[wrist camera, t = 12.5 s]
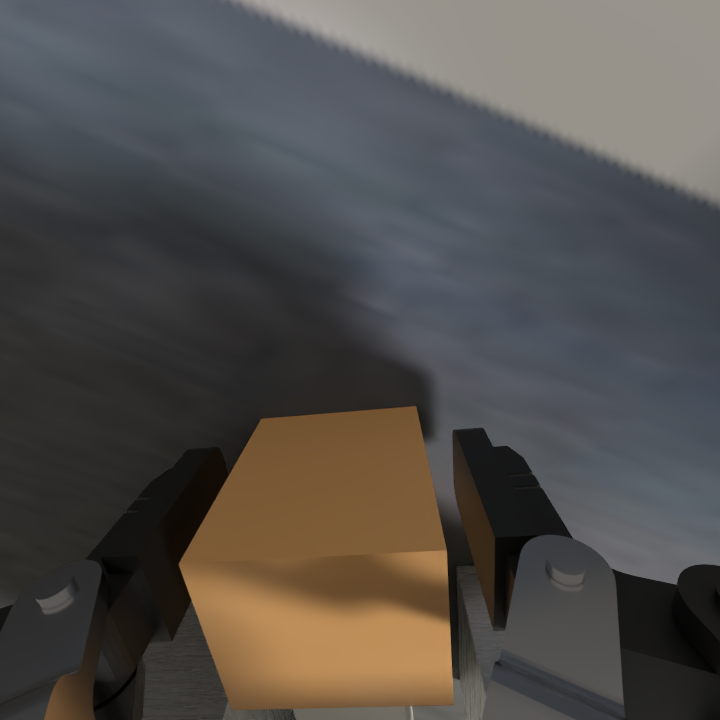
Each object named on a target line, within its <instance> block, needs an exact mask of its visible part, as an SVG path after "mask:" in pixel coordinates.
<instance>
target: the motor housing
mask: <svg viewBox="0 0 720 720" xmlns="http://www.w3.org/2000/svg"><path fill="white" fill-rule="evenodd" d="M456 574H457V607H458V640H459V673H460V686H461V691H462V697H463V702H464V708H465V713H466V719H467V720H482V715H483V710H484V706H485V701H486V696H487V691H488V686H489V682H490V677H491V673H492V670H493V666H494V664H495V662H496V661H499V658H500V654H501V649H502V644H503V639H504V634H505V631H493V628H492V624H491V621H490V617H489V614H488V610H487V607H486V603H485V600H484V596H483V593H482V589H481V586H480V582H479V579H478V575H477V572H476V568H475V565H467V566H456ZM143 660H144V662H145V665H146V676H145V690H144V704H143V718H142V720H290V715H291V709H260V710H232V709H231V706H230V704H229V701H228V698H227V695H226V693H225V690H224V687H223V684H222V682H221V679H220V676H219V674H218V671H217V668H216V665H215V663H214V660H213V657H212V654H211V652H210V649H209V646H208V644H207V641H206V638H205V635H204V633H203V630H202V627H201V624H200V622H199V619H198V616H197V614H196V611H195V608H194V605H193V603H192V601H191V603H190V605H189V607H188V609H187V612H186V614H185V616H184V618H183V620H182V622H181V624H180V626H179V628H178V630H177V632H176V634H175V637H174V639H173V641H170V642H150V643H149V645H148V647H147V649H146V651H145V653H144V655H143Z"/></svg>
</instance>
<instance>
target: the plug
mask: <svg viewBox="0 0 720 720" xmlns="http://www.w3.org/2000/svg"><path fill="white" fill-rule="evenodd" d="M179 567H180V570H181V573H182V575H183V578H184V581H185V584H186V586H187V589H188V592H189V594H190V597H191V600H192V603H193V605H194V608H195V611H196V614H197V616H198V619H199V622H200V624H201V627H202V630H203V633H204V635H205V638H206V641H207V644H208V646H209V649H210V652H211V654H212V657H213V660H214V663H215V665H216V668H217V671H218V674H219V676H220V679H221V682H222V684H223V687H224V690H225V693H226V695H227V698H228V701H229V704H230V706H231V709H232V710H260V709H293V712H294V715H295V719H296V720H413V712H412V706H443V705H454V704H453V681H452V658H451V635H450V612H449V589H448V566H447V549H446V544H445V539H444V535H443V530H442V525H441V521H440V516H439V511H438V506H437V502H436V497H435V492H434V487H433V483H432V478H431V473H430V469H429V464H428V459H427V454H426V450H425V445H424V440H423V436H422V431H421V426H420V421H419V417H418V412H417V407H416V406H412V407H399V408H387V409H375V410H363V411H350V412H338V413H326V414H313V415H301V416H289V417H277V418H264V419H261V420H260V422H259V424H258V425H257V427H256V429H255V431H254V432H253V434H252V436H251V438H250V439H249V441H248V443H247V445H246V446H245V448H244V450H243V452H242V454H241V455H240V457H239V459H238V461H237V462H236V464H235V466H234V468H233V469H232V471H231V473H230V475H229V476H228V478H227V480H226V482H225V483H224V485H223V487H222V489H221V490H220V492H219V494H218V496H217V497H216V499H215V501H214V503H213V504H212V506H211V508H210V510H209V511H208V513H207V515H206V517H205V518H204V520H203V522H202V524H201V525H200V527H199V529H198V531H197V532H196V534H195V536H194V538H193V540H192V541H191V543H190V545H189V547H188V548H187V550H186V552H185V554H184V555H183V557H182V559H181V561H180V562H179Z"/></svg>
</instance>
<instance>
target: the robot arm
mask: <svg viewBox="0 0 720 720" xmlns="http://www.w3.org/2000/svg"><path fill="white" fill-rule="evenodd" d="M453 471H454V488H455V495H456V501H457V505H458V509H459V512H460V516H461V519H462V523H463V526H464V530H465V533H466V537H467V540H468V544H469V547H470V551H471V554H472V558H473V561H474V565H475V568H476V572H477V575H478V579H479V582H480V586H481V589H482V593H483V596H484V600H485V603H486V607H487V610H488V614H489V617H490V621H491V624H492V628H493V631H505V634H504V639H503V644H502V649H501V654H500V658H499V661H496V662H495V664H494V666H493V670H492V673H491V677H490V682H489V686H488V691H487V696H486V701H485V706H484V710H483V715H482V720H720V566H716V565H705V564H703V565H695V566H691V567H688V568H686V569H684V570H683V571H682V572H681V574H680V576H679V578H678V582H677V585H674V584H670V583H665V582H660V581H656V580H651V579H646V578H641V577H637V576H632V575H629V574H625V573H622V572H619V571H616V570H613V569H611V568H610V566H609V564H608V563H607V562H606V561H605V560H604V558H603V557H602V556H601V555H599V554H598V553H597V552H596V551H595V550H593V549H592V548H590V547H589V546H587V545H585V544H584V543H582V542H579V541H577V540H575V539H573V538H572V536H571V534H570V533H569V531H568V530H567V528H566V526H565V525H564V523H563V521H562V520H561V518H560V517H559V515H558V513H557V512H556V510H555V508H554V507H553V505H552V504H551V502H550V500H549V499H548V497H547V495H546V494H545V492H544V491H543V489H542V488H540V484H539V482H538V481H537V479H536V478H535V476H534V475H533V474H532V471H531V469H530V468H529V466H528V465H527V463H526V461H525V460H524V458H523V457H522V456H520V455H519V454H518V453H516V452H515V451H513V450H512V449H511V448H509V447H508V446H500V447H493V446H492V444H491V442H490V440H489V438H488V436H487V434H486V432H485V430H484V429H483V428H473V429H460V430H453ZM227 478H228V472H227V468H226V465H225V461H224V457H223V454H222V452H221V450H220V449H219V448H218V447H211V448H198V449H189V450H187V451H186V452H185V453H184V455H183V456H182V457H181V458H180V459H179V461H178V462H177V463H176V464H175V466H174V467H173V468H172V469H169V470H167V471H166V472H164V473H163V474H162V475H160V476H159V477H158V478H156V479H155V480H153V481H152V482H151V483H150V484H149V485H148V486H147V487H146V489H145V490H144V491H143V492H142V493H141V494H140V496H139V497H138V500H136V501H134V503H133V504H132V505H131V506H130V507H129V509H128V510H127V513H124V514H123V516H122V517H121V518H120V519H119V520H118V522H117V523H116V524H115V525H114V526H113V527H112V529H111V530H110V531H109V532H108V533H107V535H106V536H105V537H104V538H103V539H102V540H101V542H100V543H99V544H98V545H97V546H96V548H95V549H94V550H93V551H92V552H91V553H90V555H89V556H88V557H87V558H86V559H85V560H79V561H74V562H71V563H68V564H65V565H63V566H60V567H58V568H56V569H54V570H52V571H51V572H49V573H47V574H45V575H44V576H42V577H41V578H40V579H38V580H37V581H35V582H34V583H33V584H32V585H30V586H29V587H28V588H27V589H26V590H25V591H24V592H23V593H22V594H21V595H20V596H19V598H18V599H17V600H16V602H15V603H14V604H13V605H10V606H7V607H4V608H1V609H0V720H142V718H143V704H144V690H145V676H146V665H145V662H144V660H143V657H142V655H143V653H144V652H145V650H146V648H147V646H148V644H149V642H170V641H173V639H174V637H175V634H176V632H177V630H178V628H179V626H180V624H181V622H182V620H183V618H184V616H185V614H186V612H187V609H188V607H189V605H190V603H191V601H192V600H191V597H190V594H189V592H188V589H187V586H186V584H185V581H184V578H183V575H182V573H181V570H180V567H179V562H180V561H181V559H182V557H183V555H184V554H185V552H186V550H187V548H188V547H189V545H190V543H191V541H192V540H193V538H194V536H195V534H196V532H197V531H198V529H199V527H200V525H201V524H202V522H203V520H204V518H205V517H206V515H207V513H208V511H209V510H210V508H211V506H212V504H213V503H214V501H215V499H216V497H217V496H218V494H219V492H220V490H221V489H222V487H223V485H224V483H225V482H226V480H227Z"/></svg>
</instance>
